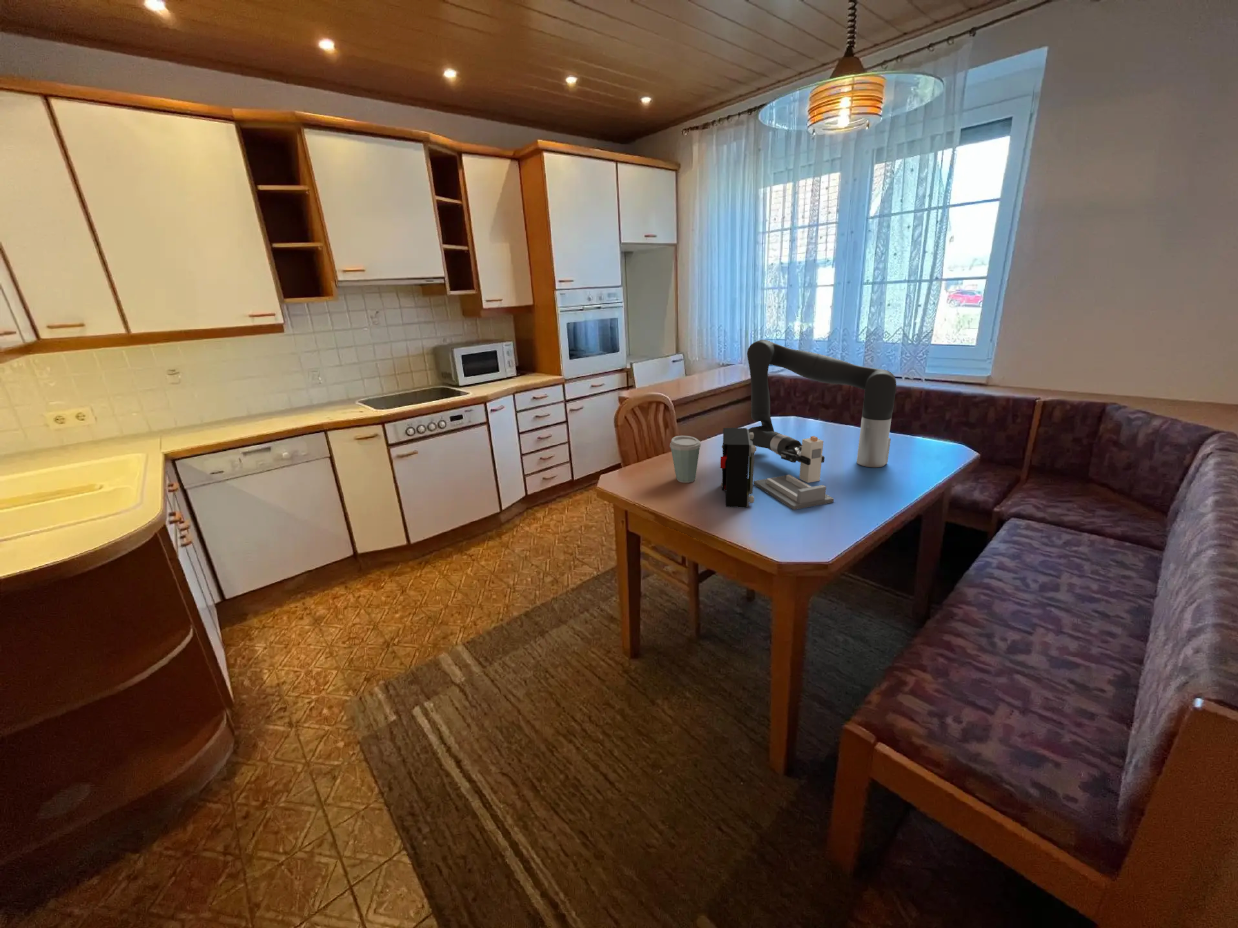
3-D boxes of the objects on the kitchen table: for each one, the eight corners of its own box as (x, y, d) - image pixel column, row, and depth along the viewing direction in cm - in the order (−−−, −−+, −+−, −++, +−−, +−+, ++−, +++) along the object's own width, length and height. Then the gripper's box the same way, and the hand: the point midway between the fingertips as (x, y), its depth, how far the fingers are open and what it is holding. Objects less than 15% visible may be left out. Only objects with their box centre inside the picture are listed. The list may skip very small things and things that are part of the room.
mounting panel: (789, 477, 169) (790, 463, 167) (833, 502, 149) (835, 486, 147) (753, 484, 165) (754, 469, 163) (793, 509, 145) (794, 493, 143)
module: (811, 476, 169) (814, 433, 164) (820, 480, 165) (824, 437, 159) (799, 478, 168) (802, 435, 162) (808, 483, 163) (811, 439, 158)
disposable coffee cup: (704, 476, 174) (704, 435, 169) (695, 487, 165) (695, 444, 160) (676, 473, 179) (675, 433, 173) (666, 483, 169) (665, 442, 164)
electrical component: (754, 507, 148) (756, 444, 141) (719, 506, 150) (720, 444, 143) (751, 485, 164) (753, 428, 157) (720, 484, 166) (721, 428, 159)
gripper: (768, 439, 174) (798, 453, 158) (803, 434, 177) (836, 447, 162) (767, 459, 176) (797, 475, 161) (801, 453, 180) (833, 468, 164)
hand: (816, 460), depth 161 cm, fingers closed on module, 4 cm apart
